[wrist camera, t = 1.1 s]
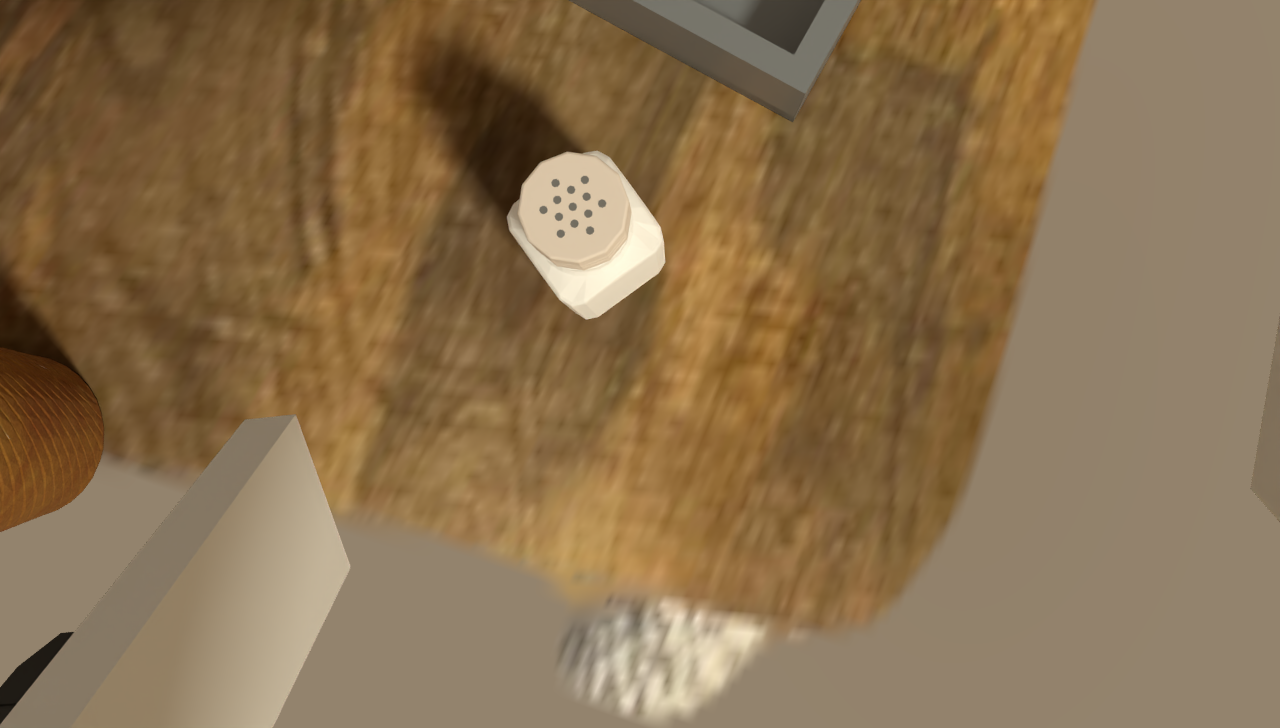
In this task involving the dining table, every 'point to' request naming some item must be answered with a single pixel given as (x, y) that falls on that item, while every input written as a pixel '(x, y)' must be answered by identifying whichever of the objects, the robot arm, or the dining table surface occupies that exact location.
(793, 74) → the box
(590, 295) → the pepper shaker
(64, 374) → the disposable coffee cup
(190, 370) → the dining table surface
